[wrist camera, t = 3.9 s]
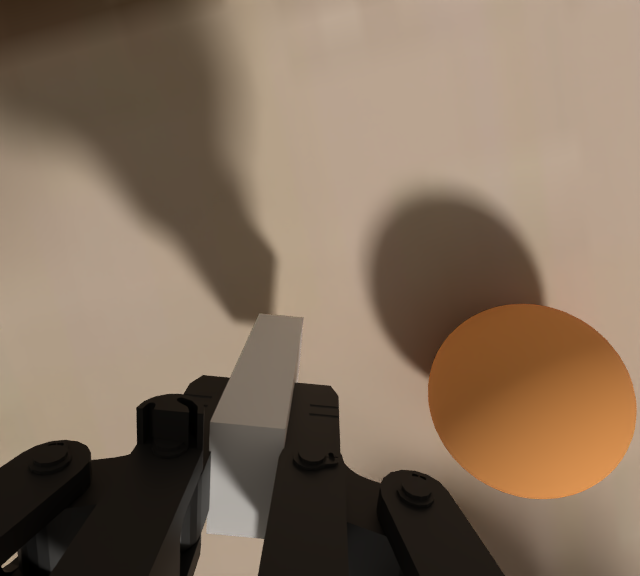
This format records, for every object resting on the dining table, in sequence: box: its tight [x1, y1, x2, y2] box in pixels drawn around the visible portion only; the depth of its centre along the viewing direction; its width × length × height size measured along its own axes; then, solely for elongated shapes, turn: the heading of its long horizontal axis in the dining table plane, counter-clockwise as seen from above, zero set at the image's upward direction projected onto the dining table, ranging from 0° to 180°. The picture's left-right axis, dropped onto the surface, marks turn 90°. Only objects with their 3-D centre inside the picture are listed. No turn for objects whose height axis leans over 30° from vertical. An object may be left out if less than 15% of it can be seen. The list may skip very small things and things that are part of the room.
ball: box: [428, 304, 636, 499], centre depth 15 cm, size 6×6×6 cm
